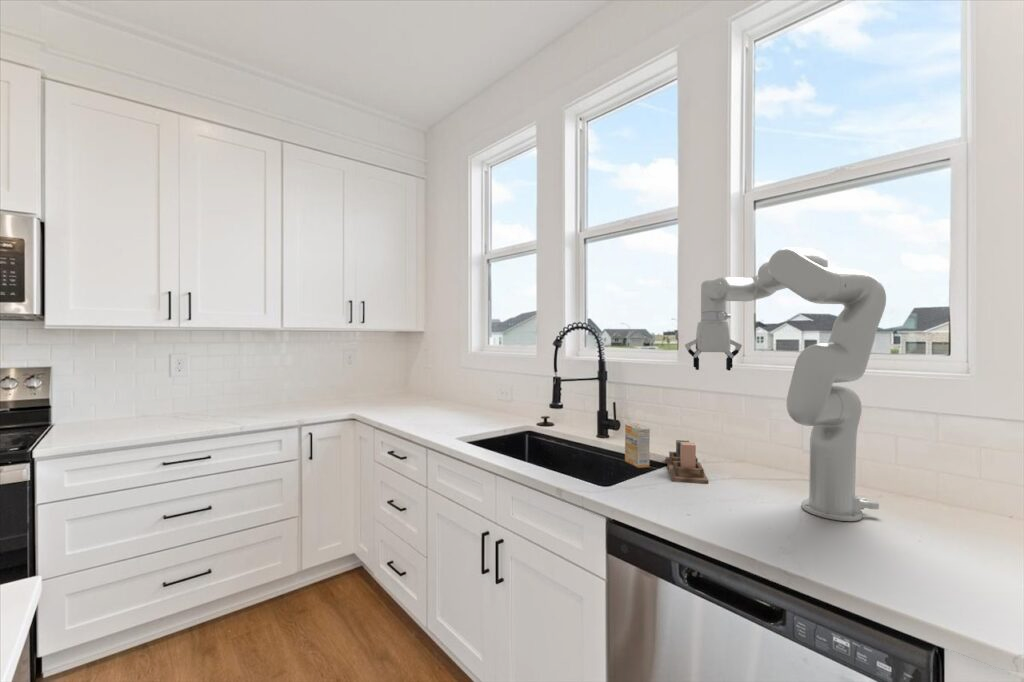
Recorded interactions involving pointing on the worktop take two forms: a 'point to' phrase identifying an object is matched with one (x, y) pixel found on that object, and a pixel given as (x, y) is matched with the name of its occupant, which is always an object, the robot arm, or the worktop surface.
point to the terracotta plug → (687, 455)
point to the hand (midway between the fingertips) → (712, 369)
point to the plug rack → (684, 473)
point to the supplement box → (637, 445)
